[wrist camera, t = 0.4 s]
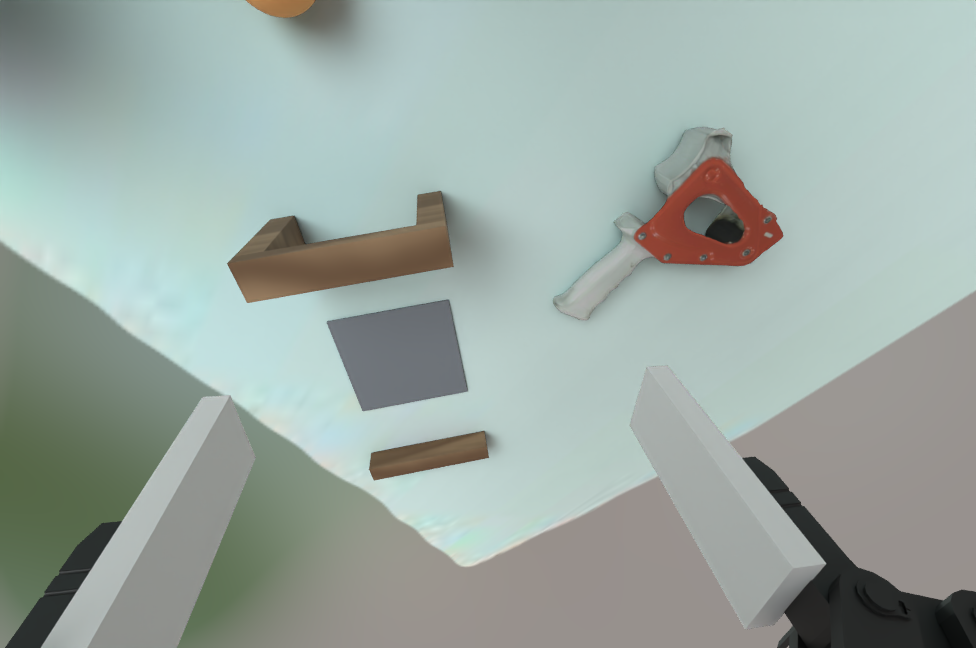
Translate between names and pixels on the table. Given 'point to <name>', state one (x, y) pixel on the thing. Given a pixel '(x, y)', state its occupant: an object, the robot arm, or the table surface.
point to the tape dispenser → (682, 222)
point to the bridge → (340, 255)
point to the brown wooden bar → (428, 455)
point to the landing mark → (400, 354)
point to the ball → (282, 7)
